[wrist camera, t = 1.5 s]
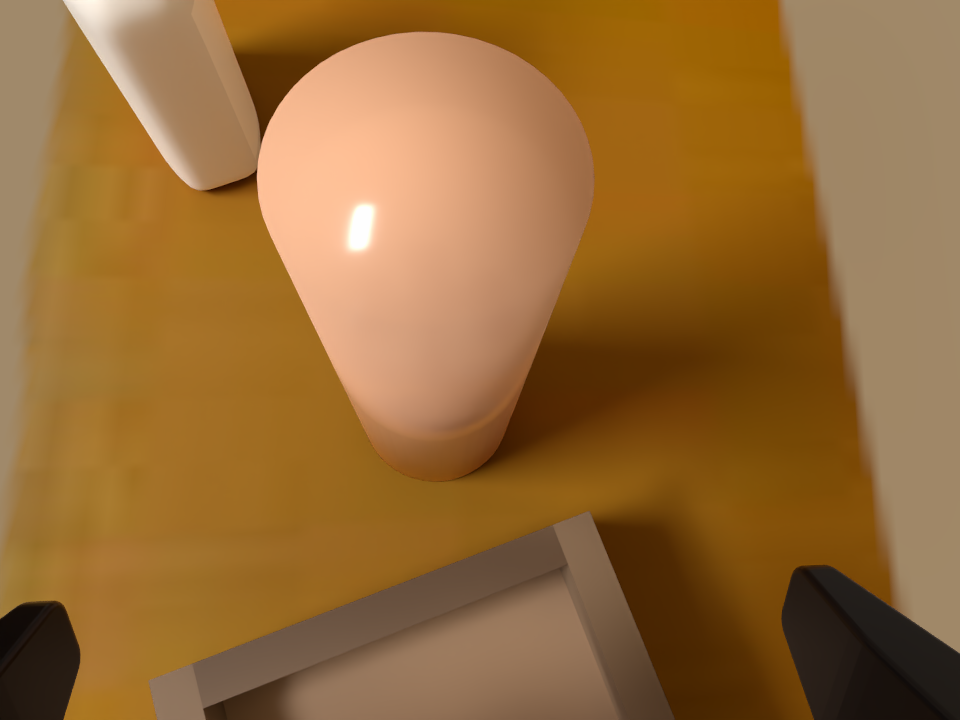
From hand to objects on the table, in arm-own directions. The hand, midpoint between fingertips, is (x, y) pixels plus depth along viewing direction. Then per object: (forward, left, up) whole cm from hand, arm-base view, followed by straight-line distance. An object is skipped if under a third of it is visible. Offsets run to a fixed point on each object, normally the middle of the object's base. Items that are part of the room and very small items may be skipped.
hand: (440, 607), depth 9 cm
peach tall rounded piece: (+5, -2, -12) cm, 13 cm away
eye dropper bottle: (+17, +2, -12) cm, 21 cm away
